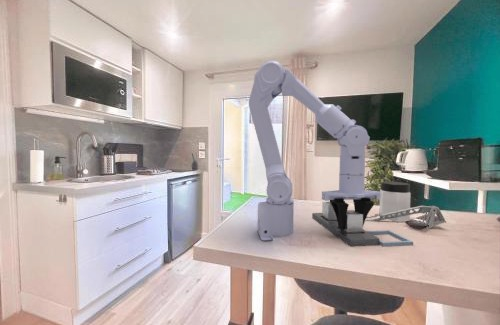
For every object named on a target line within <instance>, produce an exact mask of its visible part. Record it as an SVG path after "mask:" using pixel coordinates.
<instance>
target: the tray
mask: <svg viewBox="0 0 500 325" xmlns="http://www.w3.org/2000/svg"><path fill="white" fill-rule="evenodd" d="M366 231H367V232H369V233H370V234H372V235H374V236H377V235H381V236H382V235H389V236H391V237H393V238H395V239H398V240H394V241H393V240H392V241H390V240H389V241H384V240H382V239H380V240H379V245H378V246H381V247H403V246H404V247H406V246H414V241H413V240H411V239H409V238H406V237H404V236H402V235H400V234H399V233H396V232H394V231H392V230H389V229H387V230H383V229H382V230H366Z"/></svg>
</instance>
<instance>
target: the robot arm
mask: <svg viewBox="0 0 500 325" xmlns="http://www.w3.org/2000/svg"><path fill="white" fill-rule="evenodd" d="M280 94H281V96H282V97H294V99H296V100H297V102H299V103H301V104H302V105H303V106H305V107H306V109H308V110H309V111H311V113H313V114H314V115H315V122H316V123H317V124H318V125H319V127H321V128H322V129H323V130H325V131H326V132H327V133H328V134H329V135H330V136H332V137H333V139H336V140H337V143H338V144H337V145H339V146H340V154H339V174H338V175H339V176H338V177H339V178H338V190H328V191H321V200H323V201H324V202H330V203H331V205H332V207H333V209H334V211H335V214H336V218H337V222H338V227H339V228H341V229H342V230H345V227H346V213H347V210H348V208H349V205H350V204H349V203H347V202H346V201H347V200H351V201H353V202H352V203H353V205H354V210H355V211H357V212H359V213H361V214H363V226H364V225H365V221H366V219H367V218H366V217H368V216H369V213H370V211H371V210H372V208H374V205H375V201H373V200H376V201H377V200H378V201H380V199H381V192H380V191H379V190H365V176H366V175H365V171H366V170H365V169H366V168H365V165H366V146H367V145H369V142H370V138H371V136H369V134H368V131H367V129H366V128H365V127H364V126H361V125H358V124H356V123H357V121H356V120H355V119H351V118H349V117H348V116H347V115H346V114H345V113H344V112H343V111H341V110H342V109H343V108H342V107H341V106H340V105H338V104H337V105H335V104H332V103H331V104H329V103H327V104H325V103H324V102H323V101H322V100H321V99H320V98H319V97H318V96H316V94H315V93H314V92H313V91H311V89H310V88H308V87H307V86H306V85H305V84H304V83H303V82H302V81H301V80H300V79H299V78H298V77H297V76H296V75H295V74H293V72H291V70H289V69H288V68H286V67H284V66H282V64H281V63H280V62H278V61H276V60H269V61H265V62H264V63H263V64H262V65H261V66H260V67H259V68H258V69H257V71H256V73H255V74H254V79H253V84H252V88H251V92H250V96H249V98H248V108H249V111H250V114H251V119H252V122H253V127H254V130H255V132H256V137H257V138H256V139H257V141H258V144H259V145H258V146H259V148H260V153H261V156H262V160H263V164H264V167H265V174H266V175H265V177H266V181H267V185H266V195H267V197H266V199H265V201H259V202H258V204H257V224H256V225H257V227H256V228H257V229H256V230H257V232H258V234H259V235H258V236H259V237H260V240H261V241H274V239H273V237H288V236H292V235H293V234H294V208H295V207H294V205H295V204H294V201H295V200H294V199H293V198H292V195H293V183H292V180H291V179H290V178H289V177H288V175H287V173H286V171H285V168H284V165H283V161H282V157H281V154H280V149H279V147H278V141H277V138H276V134H275V131H274V127H273V123H272V120H271V115H270V112H269V109H268V108H269V106H270V105H271V103H272V102H273V101H274V99H275V98H277V97H278V96H279V95H280ZM345 200H346V201H345Z"/></svg>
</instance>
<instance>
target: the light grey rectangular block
mask: <svg viewBox="0 0 500 325" xmlns="http://www.w3.org/2000/svg"><path fill="white" fill-rule="evenodd" d="M363 228H364V225H363V214H361V213H359V212H357V211H355V209H349V210H348V209H347V213H346V227H345V230H342V229H341V228H339V229H340V230H341V231H343V232H344V233H346V234H357V233H363V230H364V229H363Z"/></svg>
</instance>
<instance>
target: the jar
mask: <svg viewBox="0 0 500 325" xmlns="http://www.w3.org/2000/svg"><path fill="white" fill-rule="evenodd" d="M410 185H411V184H410V183H407V182H400V181H381V182H380V189H379V192H381V199H380V200H379V213H378V215H382V214H387V213H391V212H396V211H400V210H405V209H409V208H411V196H412V195H411V194H412V193H411V191H410V188H411V186H410ZM402 213H404V214H405V213H406V211H404V212H402ZM409 213H411V211H410V212H409ZM392 215H393V216H394V215H395V214H392ZM398 215H401V213H398ZM410 216H411V215H407V216H401V217H396V218H391V219H388V221H391V222H395V223H406V221H409V220H410V221H411V218H410ZM388 217H390V215H389V216H388ZM383 218H385V216H383ZM410 221H409V222H410Z"/></svg>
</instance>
